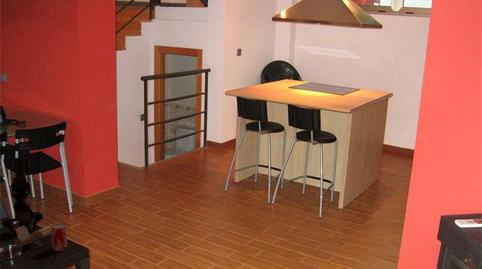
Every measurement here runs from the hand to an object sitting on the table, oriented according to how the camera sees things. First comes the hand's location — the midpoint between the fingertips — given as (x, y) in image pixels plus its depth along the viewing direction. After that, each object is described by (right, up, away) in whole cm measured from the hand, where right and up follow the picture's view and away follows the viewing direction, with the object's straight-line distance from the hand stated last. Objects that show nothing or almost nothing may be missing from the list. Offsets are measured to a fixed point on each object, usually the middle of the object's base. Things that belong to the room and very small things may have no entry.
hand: (22, 235), depth 255 cm
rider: (0, -2, +1) cm, 2 cm away
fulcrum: (+4, -6, +5) cm, 9 cm away
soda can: (+18, -7, +2) cm, 19 cm away
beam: (+4, -2, +4) cm, 6 cm away
